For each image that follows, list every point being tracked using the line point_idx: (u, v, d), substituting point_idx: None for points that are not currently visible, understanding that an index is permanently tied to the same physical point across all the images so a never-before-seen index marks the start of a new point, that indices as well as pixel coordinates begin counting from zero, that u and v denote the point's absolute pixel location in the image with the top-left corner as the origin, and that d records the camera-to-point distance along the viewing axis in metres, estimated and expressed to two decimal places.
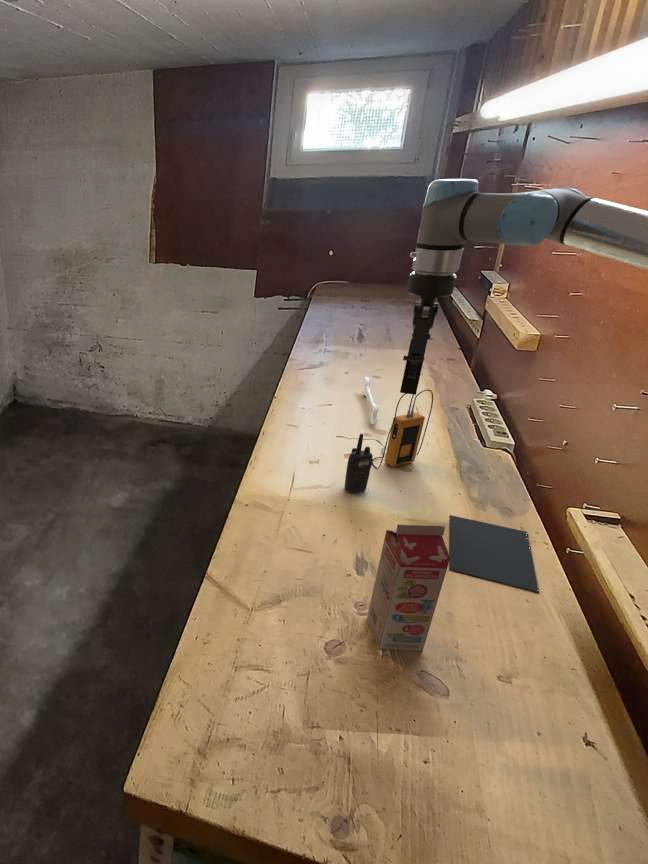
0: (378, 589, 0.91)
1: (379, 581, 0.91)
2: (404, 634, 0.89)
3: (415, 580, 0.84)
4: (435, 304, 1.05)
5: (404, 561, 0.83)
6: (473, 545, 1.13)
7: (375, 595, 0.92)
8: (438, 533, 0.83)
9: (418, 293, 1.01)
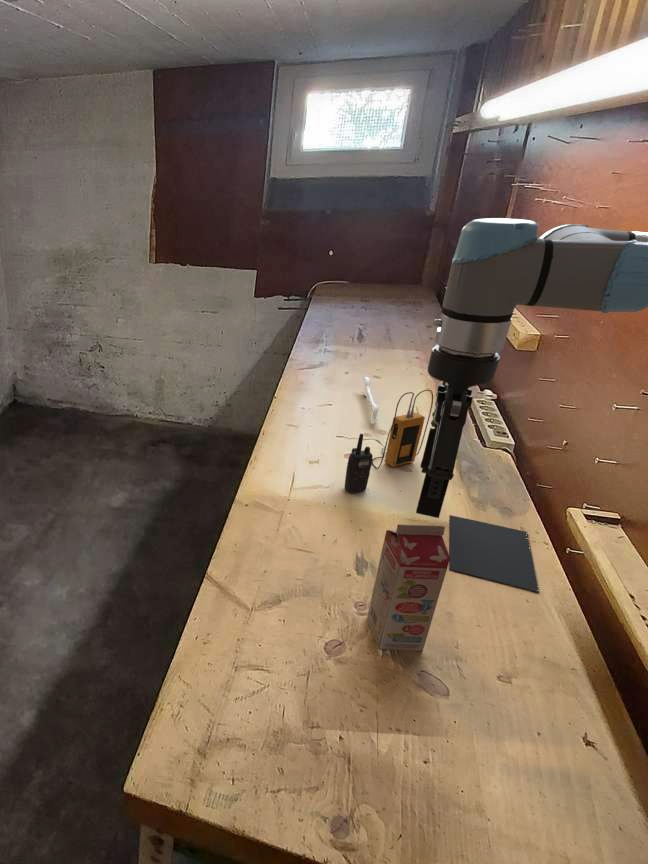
0: (378, 589, 0.91)
1: (379, 581, 0.91)
2: (404, 634, 0.89)
3: (415, 580, 0.84)
4: None
5: (404, 561, 0.83)
6: (473, 545, 1.13)
7: (375, 595, 0.92)
8: (438, 533, 0.83)
9: (444, 379, 0.71)
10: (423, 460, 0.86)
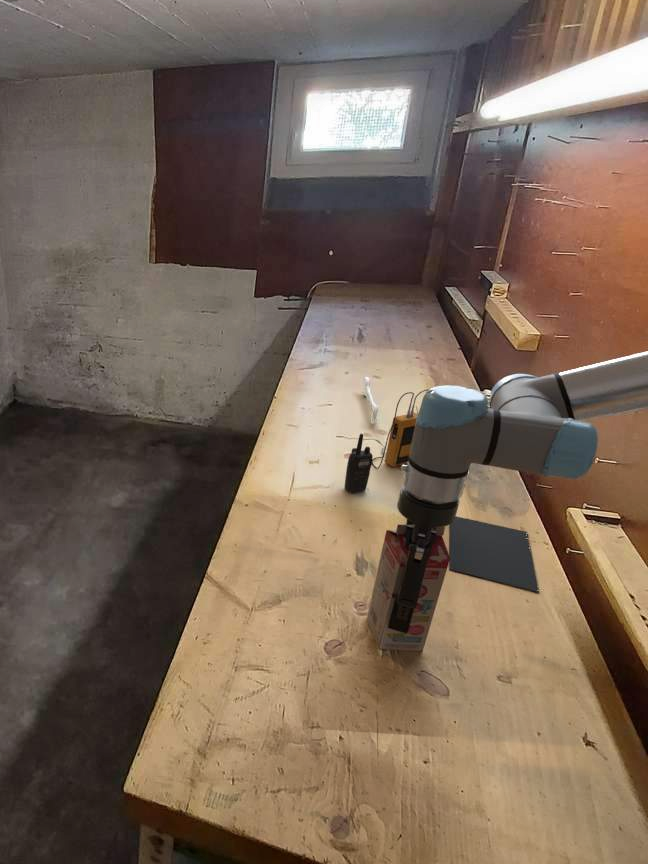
0: (378, 589, 0.91)
1: (379, 581, 0.91)
2: (404, 634, 0.89)
3: None
4: None
5: (404, 561, 0.83)
6: (473, 545, 1.13)
7: (375, 595, 0.92)
8: (438, 533, 0.83)
9: (411, 519, 0.80)
10: None
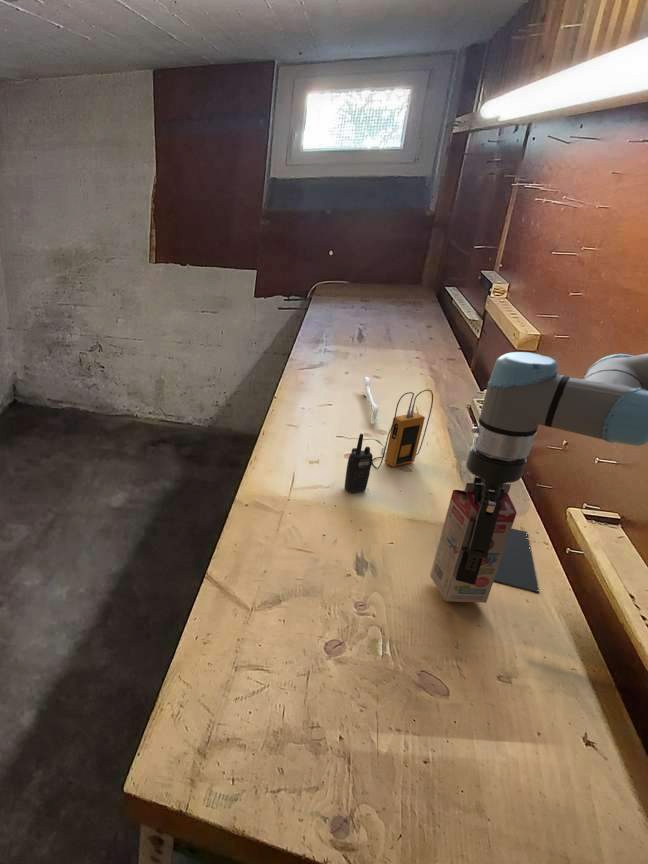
0: (443, 546, 0.98)
1: (445, 538, 0.98)
2: (470, 586, 0.96)
3: None
4: None
5: (474, 516, 0.90)
6: None
7: (440, 552, 1.00)
8: (504, 490, 0.91)
9: (482, 476, 0.88)
10: None
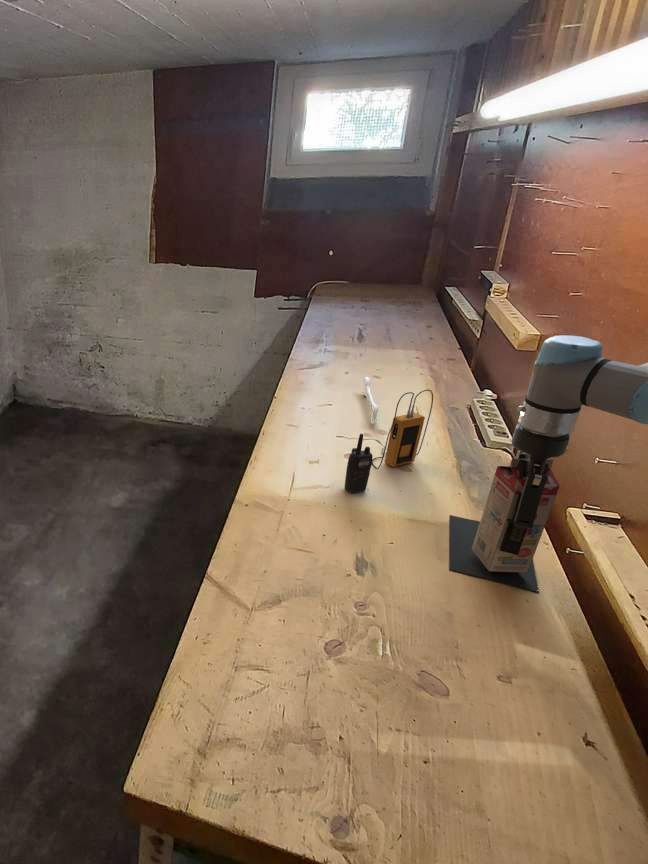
0: (487, 519, 1.05)
1: (488, 512, 1.04)
2: (512, 557, 1.02)
3: None
4: None
5: (519, 490, 0.96)
6: None
7: (483, 526, 1.06)
8: None
9: (527, 452, 0.94)
10: None
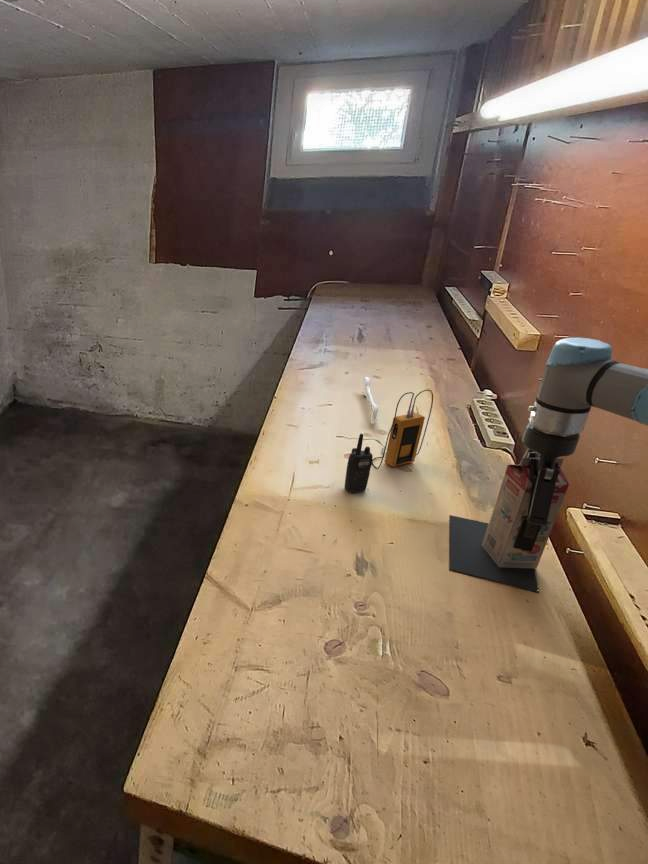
0: (497, 517, 1.07)
1: (499, 510, 1.07)
2: (522, 553, 1.05)
3: None
4: None
5: (529, 488, 0.99)
6: (473, 545, 1.13)
7: (493, 523, 1.08)
8: None
9: (538, 451, 0.96)
10: None
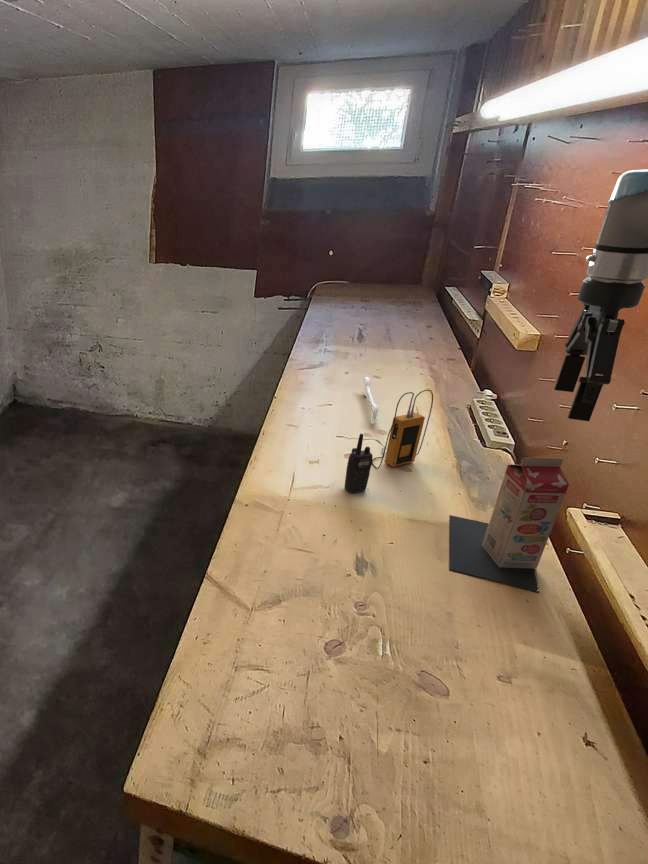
0: (497, 517, 1.07)
1: (499, 510, 1.07)
2: (522, 553, 1.05)
3: (537, 504, 1.00)
4: None
5: (529, 488, 0.99)
6: (473, 545, 1.13)
7: (493, 523, 1.08)
8: (557, 464, 1.00)
9: (598, 304, 0.87)
10: (558, 383, 1.01)
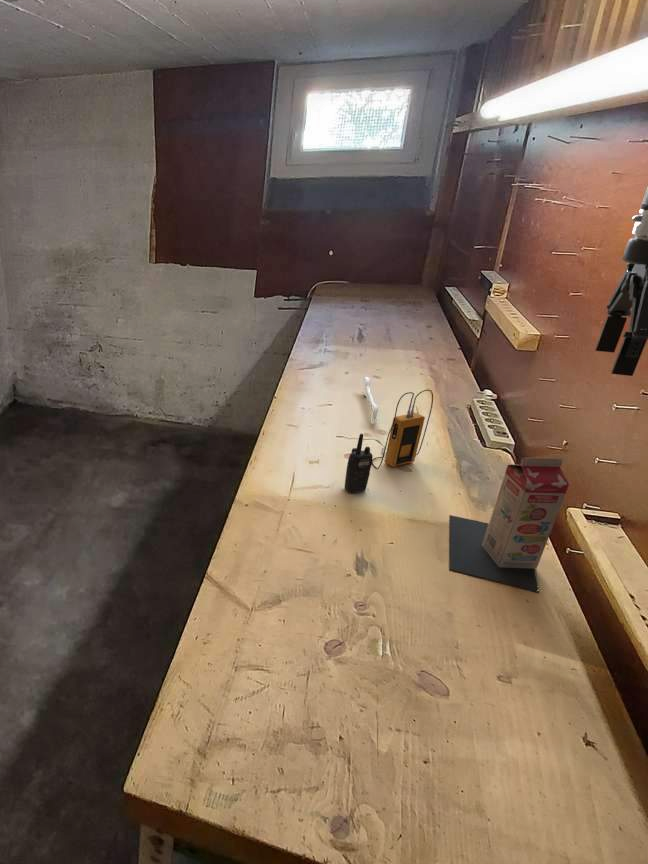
0: (497, 517, 1.07)
1: (499, 510, 1.07)
2: (522, 553, 1.05)
3: (537, 504, 1.00)
4: None
5: (529, 488, 0.99)
6: (473, 545, 1.13)
7: (493, 523, 1.08)
8: (557, 464, 1.00)
9: (643, 261, 0.91)
10: (599, 344, 1.05)
